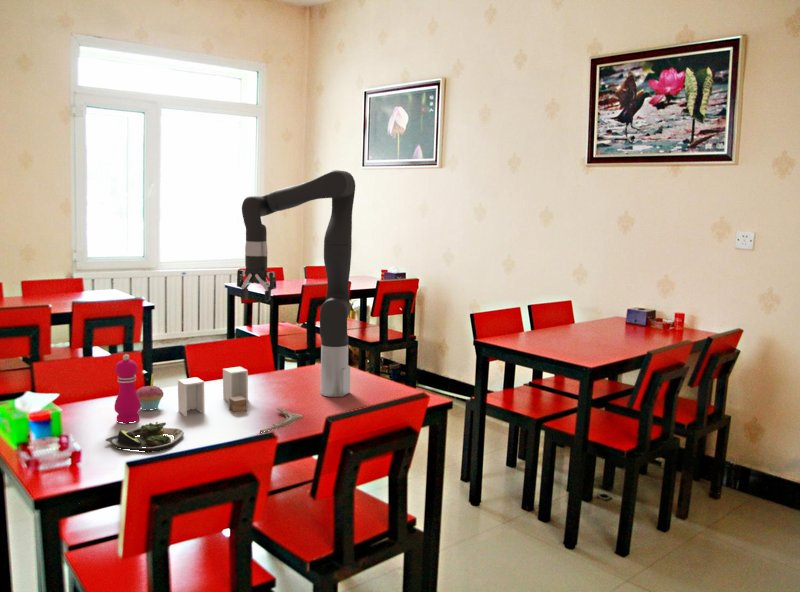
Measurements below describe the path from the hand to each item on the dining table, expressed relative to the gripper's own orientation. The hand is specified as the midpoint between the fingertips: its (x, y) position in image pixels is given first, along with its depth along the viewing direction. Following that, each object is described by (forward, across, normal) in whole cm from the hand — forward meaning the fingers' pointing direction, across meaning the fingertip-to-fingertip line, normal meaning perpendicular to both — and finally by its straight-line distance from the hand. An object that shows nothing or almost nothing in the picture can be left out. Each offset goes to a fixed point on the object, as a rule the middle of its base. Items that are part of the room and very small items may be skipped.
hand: (256, 300), depth 242 cm
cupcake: (+30, -16, -38) cm, 51 cm away
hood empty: (+30, -2, -36) cm, 47 cm away
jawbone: (+31, +25, -34) cm, 53 cm away
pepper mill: (+30, -14, -50) cm, 60 cm away
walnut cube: (+30, +10, -29) cm, 43 cm away
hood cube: (+30, +3, -19) cm, 36 cm away
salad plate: (+31, +2, -62) cm, 69 cm away
